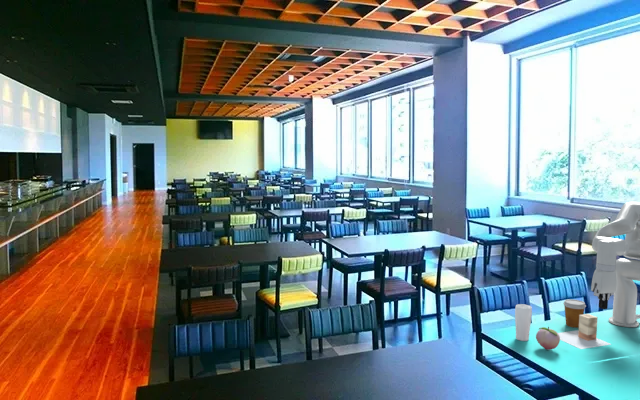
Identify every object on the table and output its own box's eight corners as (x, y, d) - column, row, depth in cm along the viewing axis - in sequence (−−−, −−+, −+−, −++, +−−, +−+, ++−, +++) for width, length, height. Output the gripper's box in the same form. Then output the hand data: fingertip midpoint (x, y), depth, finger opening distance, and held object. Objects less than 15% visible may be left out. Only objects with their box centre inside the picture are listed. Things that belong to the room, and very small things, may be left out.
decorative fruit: (564, 351, 210) (565, 327, 209) (552, 355, 205) (554, 331, 204) (543, 344, 217) (544, 321, 216) (531, 348, 213) (532, 325, 212)
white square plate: (577, 331, 233) (577, 330, 233) (611, 345, 216) (611, 344, 216) (548, 335, 228) (548, 334, 227) (580, 350, 211) (580, 349, 211)
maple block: (586, 335, 226) (588, 313, 225) (596, 339, 222) (597, 317, 221) (578, 336, 225) (579, 314, 224) (587, 340, 220) (588, 318, 219)
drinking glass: (532, 339, 223) (534, 306, 222) (527, 343, 218) (528, 309, 217) (517, 335, 228) (519, 303, 226) (511, 339, 223) (512, 306, 221)
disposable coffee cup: (588, 330, 235) (590, 305, 234) (568, 329, 235) (569, 304, 234) (578, 323, 244) (579, 299, 243) (558, 323, 245) (559, 298, 243)
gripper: (611, 265, 229) (608, 304, 230) (585, 266, 224) (583, 307, 225) (625, 268, 222) (623, 309, 223) (600, 270, 217) (597, 312, 218)
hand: (602, 308), depth 224 cm, fingers closed
